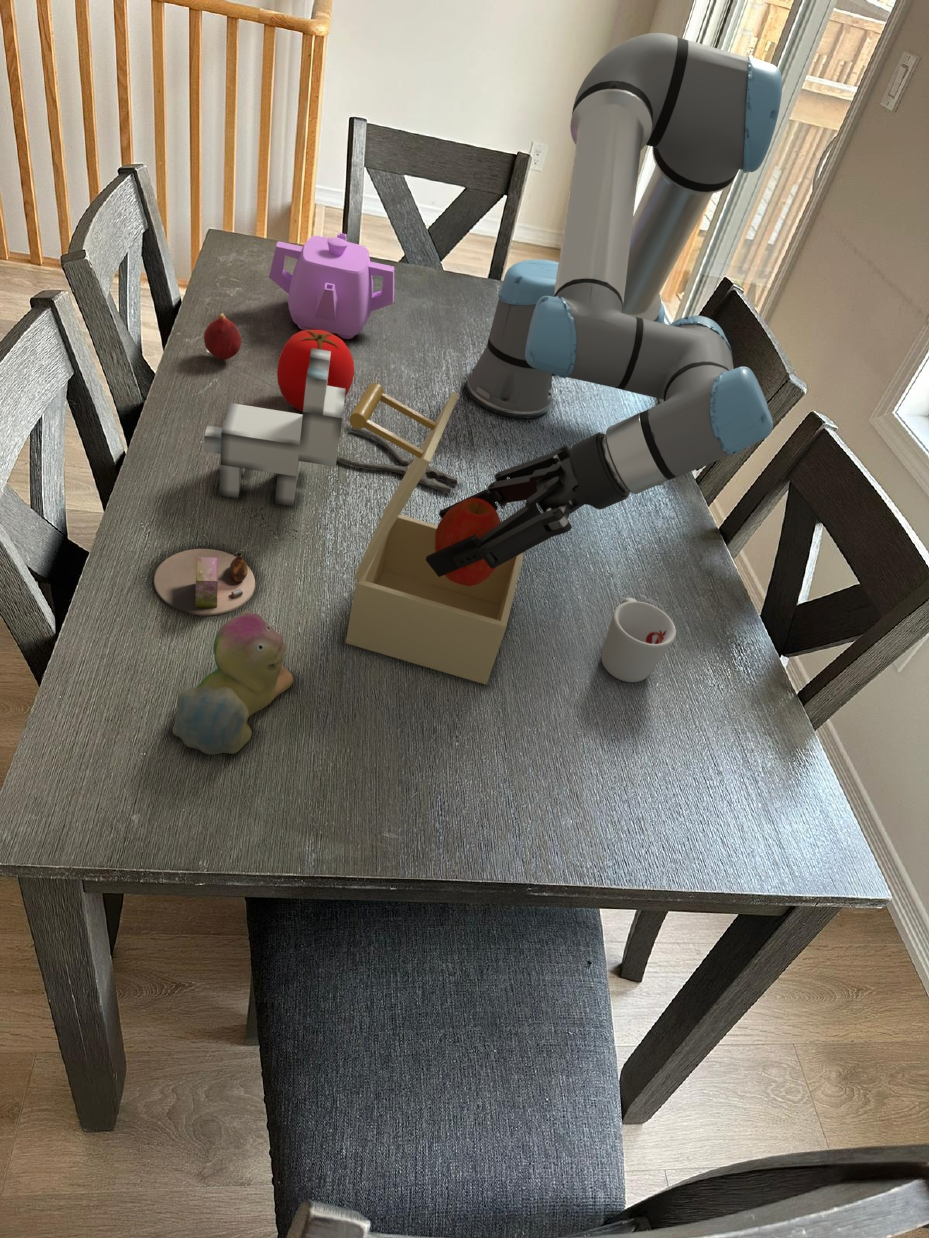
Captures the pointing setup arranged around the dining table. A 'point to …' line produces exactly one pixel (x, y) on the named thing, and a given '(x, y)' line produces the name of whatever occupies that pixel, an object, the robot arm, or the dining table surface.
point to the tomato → (297, 363)
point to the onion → (222, 338)
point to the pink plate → (204, 582)
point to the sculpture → (233, 686)
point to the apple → (467, 536)
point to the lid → (422, 454)
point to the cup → (636, 640)
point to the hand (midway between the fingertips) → (439, 543)
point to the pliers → (400, 469)
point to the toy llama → (280, 435)
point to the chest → (430, 607)
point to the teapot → (331, 284)
